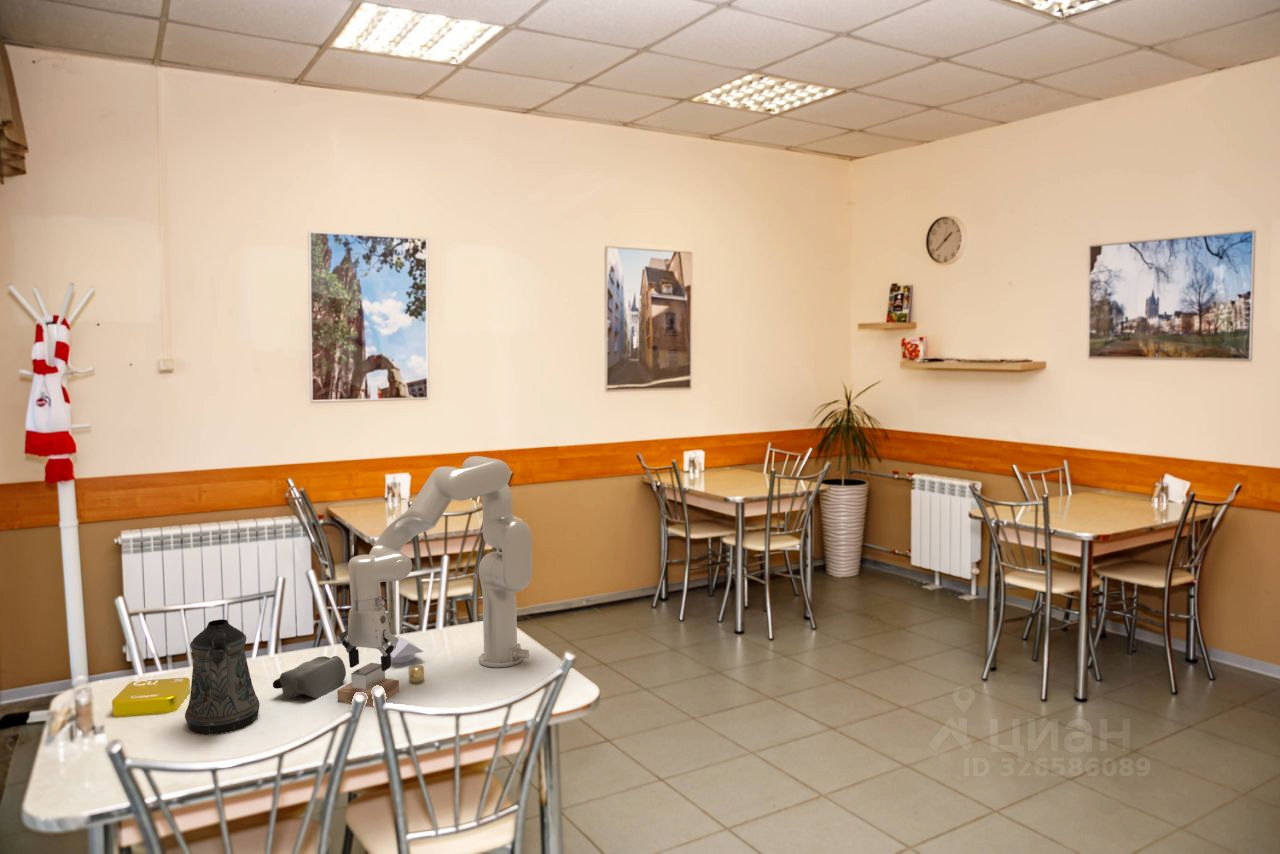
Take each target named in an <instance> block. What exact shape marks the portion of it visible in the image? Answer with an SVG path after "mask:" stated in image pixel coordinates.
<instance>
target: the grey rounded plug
mask: <svg viewBox="0 0 1280 854" xmlns="http://www.w3.org/2000/svg"><path fill="white" fill-rule="evenodd" d="M346 676H347V671H346V666H345V663H344V661H343V659H342V658H341V657H340V656H338V655H334V656H332V657H330V656H329V657H328V656H324V655H323V656H317V657H315V658H313V659H311V660H308V661H304V662H302V663H300V664H299V665H298V666H297V667H294V668H293V669H290V670H286V671H284V672H282V673H281V674H280V675H279V678H276V679H275V680H274V681H273V682H272V687H273V689H277V690H278V689H282V696H283V698H286V699H287V698H288V699H289V698H294V697H295V698H296V697H299V696H302V695H305V696H308V697H310V698H312V699H313V698H314V699H320V698H321V696H322V697H324V696H326V695H327V694H328V693H330V692H331V691H333V690H335V689H336V688H338V687H339V686H341V685H343V683H344V681H345V679H346ZM323 695H324V696H323ZM319 697H320V698H319Z"/></svg>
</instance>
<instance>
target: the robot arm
mask: <svg viewBox="0 0 1280 854" xmlns="http://www.w3.org/2000/svg"><path fill="white" fill-rule="evenodd" d="M511 476H512V475H511V470H510V467H509V465H508V464H507V463H506V462H505V461H504V460H502V459H497V458H491V457H486V456H481V455H480V456H479V455H474V456H473V455H472V456H469V457H468V458H466V459H465V460H464V461H463V463H462V466H461V468H458V467H454V466H439V467H437V468H436V469H434V470H433V471H432V473H430V475H429V477H428V478H427V480H426V481H425V483H424V484H423V486H422V487H421V489H420V490H419V491H418V494H417V495H416V496H415V498H414V500H413V501H412V503H411V504H410V505H409V506H408V507H409V508H407V510H406V511H405V512H404V513H402V514H401V515H400V516H398V517H397V518H396V519H394V521H392V522H391V523H390V524H389V525H388V526H386V528H385V529H384V530H383V531H382V532H381V533H380V535H379V536H378V538H377V540H376V541H375V543H374V545H373V546H372V548H371V549H370V551H369V554H358V555H355V556H353V557H351V558H350V559H349V562H348V578H349V579H348V580H349V591H350V606H351V607H350V609H349V611H348V619H347V621H348V622H347V630H345V631H343V632H341V633H339V634H338V636H339V639H340V641H341V643H342V646H343V647H344V649H345V651H346V653H348V663H349V668H355V667H356V666H358V665H360V653H359V649H358V648H368V649H378V651H379V652H380V653H381V654H382V655H381V656H380V664H381V669H382V671H385V672H386V671H387V670H389V669H390V668H391V666H392V663H391V653H392V652H393V650H394V649H395V648H396V645H397V643H398V638H397V636H395V635H394V634H392V633H391V631H390V625H389V618H388V615H387V611H386V608H385V607H384V605H385V604H386V601H385V600H383V599H382V590H381V583H382V582H384V583H385V582H396V581H397V582H399V581H401V580H404V579H406V578H407V577H408V576H409V575H410V574H411V572H412V570H413V563H412V562H413V561H412V559H411V558H410V557H409V555H407V554H406V553H404V552H401V550H402V549H403V547H404V546H405V545H406V544H407V543H408V542H409V541H411V540H412V539H413V538H414V537H416V536H418V535H420V534H423V533H425V532H428V531H429V530H432V529H433V528H435V527H436V526H437V524H438V522H439V521H440V519H441V518H442V517H443V515H444V513H445V512H446V510H447V508H448V507H449V505H450V504H451V502H452V501H459V502H460V501H461V502H462V501H467V500H472V499H475V498H479V497H480V499H481V507H482V536H483V541H484V543H485V544H487V545H488V546H489V547H491V548H493V549H496V550H499V551H491V552H490V551H489V552H488V553H487V554H485V555H484V556H483V557H482V558H481V560H480V562H479V565H478V576H479V582H480V587H481V593H482V594H481V595H482V596H481V597H482V620H483V621H482V623H483V626H482V627H483V631H482V632H483V653H481V654H480V655H479V657H478V663H479V664H480V665H482V666H484V667H489V668H505V667H512V666H515V665H518V664H519V663H521V662H522V661H523V660H524V659H526V660H527V659H529V657H530V651H529V649H525V648H524V649H523V648H521V645H522V644H521V643H518V623H517V621H518V618H517V615H518V614H517V595H516V592H521V591H523V590H525V589H527V588H528V586H529V585H530V582H531V580H532V577H533V576H532V575H533V535H532V532H531V529H530V526H529V525H528V524H527V523H526V522H525V521H523V520H522V519H519V518H515V517H514V508H513V507H514V505H513V496H512V492H511V488H510V486H509V484H508V483H509V482H510V479H511ZM388 644H390V646H389V645H388ZM384 648H385V649H386V650H385V649H384Z"/></svg>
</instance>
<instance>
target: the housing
mask: <svg viewBox="0 0 1280 854" xmlns="http://www.w3.org/2000/svg"><path fill="white" fill-rule="evenodd" d="M350 677H351V678H350V679H351V682H352V689H356V690H363V691H367V690H369V689H370V688H372V687H374V686H376V685H378V684H379V683H381V682H383V681H385V679H386V671H382V669H381V663H375V662H369V663H368V664H365V665H364V666H362V667H360V668H358V669H356V670H355V671H353V672H352V673H350Z"/></svg>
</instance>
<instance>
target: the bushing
mask: <svg viewBox="0 0 1280 854" xmlns="http://www.w3.org/2000/svg"><path fill="white" fill-rule="evenodd" d="M424 682H425V666H424V665H422V664H415V665H410V666H409V667H408V683H409V684H410V685H414V686H416V685H420V684H421V685H422V684H423V683H424Z"/></svg>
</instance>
